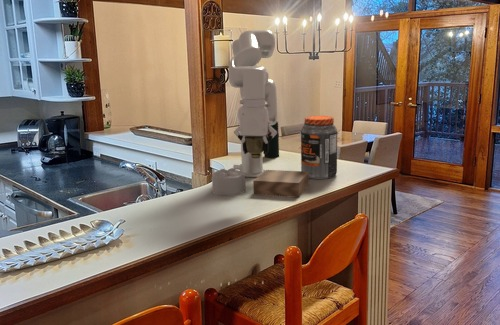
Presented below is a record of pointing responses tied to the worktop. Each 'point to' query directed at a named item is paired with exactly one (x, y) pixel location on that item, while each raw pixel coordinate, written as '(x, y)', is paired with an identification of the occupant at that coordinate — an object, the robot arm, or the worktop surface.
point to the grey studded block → (228, 182)
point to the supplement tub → (319, 147)
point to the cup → (254, 146)
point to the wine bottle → (273, 144)
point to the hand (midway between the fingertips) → (255, 152)
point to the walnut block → (281, 183)
